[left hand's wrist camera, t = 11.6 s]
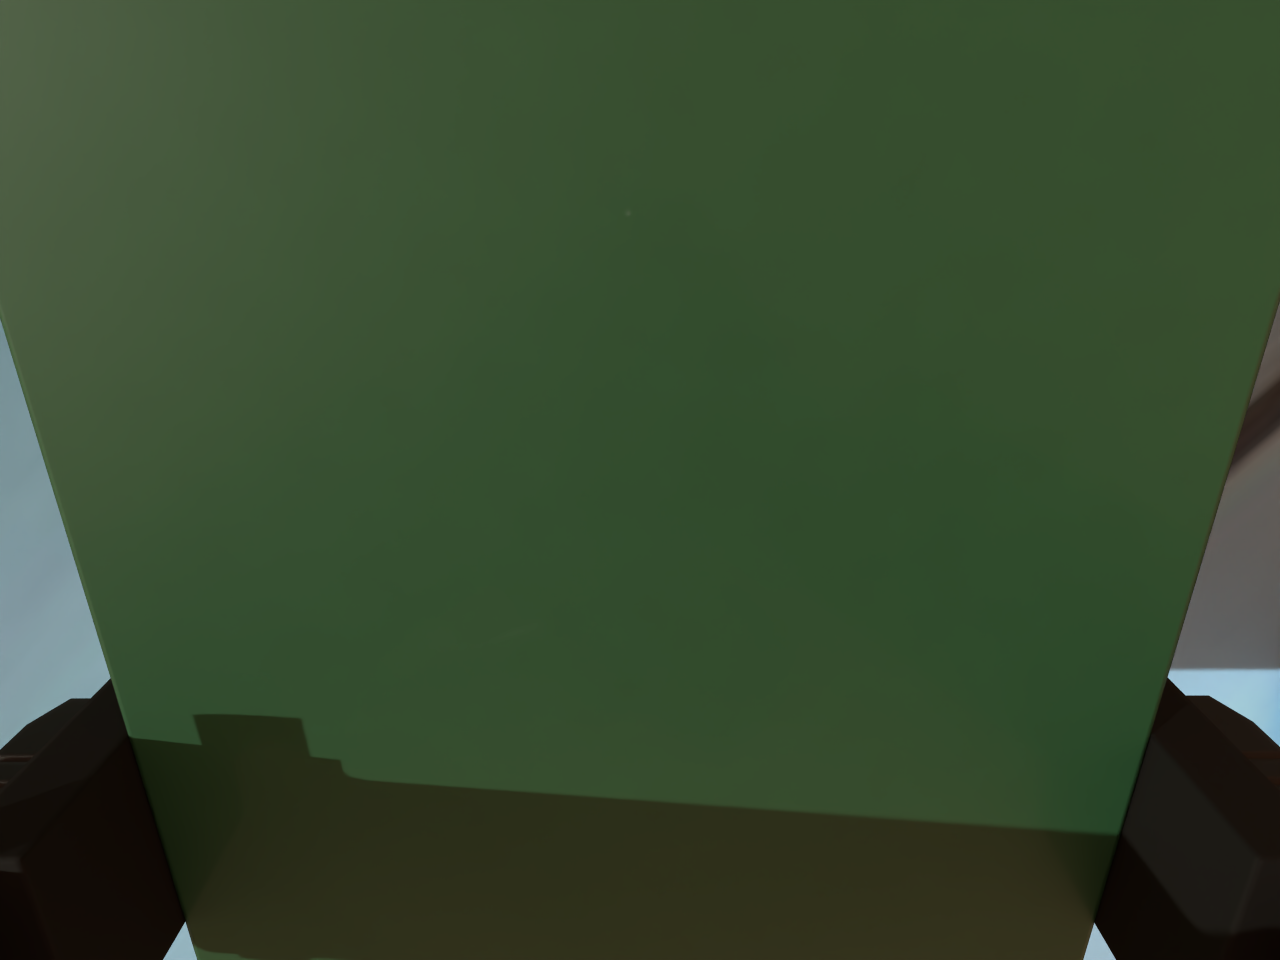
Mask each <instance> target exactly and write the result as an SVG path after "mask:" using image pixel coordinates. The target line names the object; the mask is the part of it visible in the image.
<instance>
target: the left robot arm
mask: <svg viewBox="0 0 1280 960" xmlns="http://www.w3.org/2000/svg"><path fill="white" fill-rule="evenodd" d="M184 923H185V918H184V915H183V911H182V908H181V905H180V902H179V898H178V895H177V892H176V889H175V885H174V882H173V879H172V876H171V872H170V869H169V866H168V863H167V859H166V856H165V853H164V850H163V846H162V843H161V840H160V837H159V833H158V830H157V827H156V824H155V820H154V817H153V814H152V810H151V807H150V804H149V801H148V797H147V794H146V791H145V788H144V784H143V781H142V778H141V775H140V771H139V768H138V765H137V762H136V758H135V755H134V752H133V749H132V745H131V742H130V739H129V736H128V732H127V729H126V726H125V723H124V719H123V716H122V713H121V710H120V706H119V703H118V700H117V697H116V693H115V690H114V687H113V684H112V680H111V679H110V680H109V681H108V682H107V683H106V684H105V685H104V686H103V687H102V688H101V689H100V690H99V691H98V692H97V693H96V694H95V695H94V696H93V697H92V698H91V699H69V700H68V701H66V702H64V703H63V704H61V705H59V706H58V707H56V708H54V709H53V710H51V711H49V712H48V713H46V714H44V715H43V716H41V717H39V718H37V719H36V720H34V721H32V722H31V723H29V724H27V725H26V726H25V727H24V728H23V729H22V730H21V731H20V732H19V733H18V734H17V735H15V736H14V737H13V738H12V739H11V740H10V741H9V742H8V743H7V744H6V745H5V746H4V747H3V748H2V749H1V750H0V960H163V959H164V957H165V955H166V954H167V952H168V950H169V948H170V947H171V945H172V943H173V942H174V940H175V938H176V937H177V935H178V933H179V931H180V930H181V928H182V926H183V925H184ZM1094 923H1095V924H1096V926H1097V928H1098V929H1099V931H1100V933H1101V935H1102V936H1103V938H1104V940H1105V941H1106V943H1107V945H1108V947H1109V948H1110V950H1111V952H1112V953H1113V955H1114V957H1115V959H1116V960H1280V747H1279V746H1278V745H1277V744H1276V743H1275V742H1274V741H1273V740H1272V739H1271V738H1270V737H1269V736H1268V735H1267V734H1265V733H1264V732H1263V731H1262V730H1261V729H1260V728H1259V727H1258V726H1257V725H1256V724H1255V723H1254V722H1252V721H1251V720H1249V719H1247V718H1246V717H1244V716H1242V715H1241V714H1239V713H1237V712H1236V711H1234V710H1232V709H1230V708H1229V707H1227V706H1225V705H1224V704H1222V703H1220V702H1219V701H1217V700H1215V699H1214V698H1212V697H1210V696H1185V695H1184V694H1183V693H1182V692H1181V691H1180V690H1179V689H1178V688H1177V687H1176V686H1175V685H1174V684H1173V683H1172V682H1171V681H1170V680H1169V679H1168V678H1167V680H1166V684H1165V687H1164V690H1163V694H1162V697H1161V700H1160V704H1159V707H1158V710H1157V714H1156V717H1155V720H1154V724H1153V727H1152V730H1151V734H1150V737H1149V741H1148V744H1147V747H1146V751H1145V754H1144V757H1143V761H1142V764H1141V767H1140V771H1139V774H1138V777H1137V781H1136V784H1135V787H1134V791H1133V794H1132V798H1131V801H1130V804H1129V808H1128V811H1127V814H1126V818H1125V821H1124V824H1123V828H1122V831H1121V834H1120V838H1119V841H1118V844H1117V848H1116V851H1115V855H1114V858H1113V861H1112V865H1111V868H1110V871H1109V875H1108V878H1107V881H1106V885H1105V888H1104V891H1103V895H1102V898H1101V901H1100V905H1099V908H1098V912H1097V915H1096V918H1095V922H1094Z"/></svg>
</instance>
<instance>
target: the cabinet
mask: <svg viewBox="0 0 1280 960" xmlns="http://www.w3.org/2000/svg"><path fill="white" fill-rule="evenodd" d="M1279 301H1280V0H0V319H1V322H2V325H3V329H4V332H5V335H6V338H7V342H8V345H9V348H10V351H11V355H12V358H13V361H14V364H15V368H16V371H17V374H18V377H19V381H20V384H21V387H22V391H23V394H24V397H25V400H26V404H27V407H28V410H29V413H30V417H31V420H32V423H33V426H34V430H35V433H36V436H37V439H38V443H39V446H40V449H41V452H42V456H43V459H44V462H45V465H46V469H47V472H48V475H49V478H50V482H51V485H52V488H53V491H54V495H55V498H56V501H57V504H58V508H59V511H60V514H61V517H62V521H63V524H64V527H65V531H66V534H67V537H68V540H69V544H70V547H71V550H72V553H73V557H74V560H75V563H76V566H77V570H78V573H79V576H80V579H81V583H82V586H83V589H84V592H85V596H86V599H87V602H88V605H89V609H90V612H91V615H92V618H93V622H94V625H95V628H96V631H97V635H98V638H99V641H100V644H101V648H102V651H103V654H104V657H105V661H106V664H107V667H108V670H109V674H110V677H111V680H112V684H113V687H114V690H115V693H116V697H117V700H118V703H119V706H120V710H121V713H122V716H123V719H124V723H125V726H126V729H127V732H128V736H129V739H130V742H131V745H132V749H133V752H134V755H135V758H136V762H137V765H138V768H139V771H140V775H141V778H142V781H143V784H144V788H145V791H146V794H147V797H148V801H149V804H150V807H151V810H152V814H153V817H154V820H155V824H156V827H157V830H158V833H159V837H160V840H161V843H162V846H163V850H164V853H165V856H166V859H167V863H168V866H169V869H170V872H171V876H172V879H173V882H174V885H175V889H176V892H177V895H178V898H179V902H180V905H181V908H182V911H183V915H184V918H185V921H186V924H187V928H188V931H189V934H190V937H191V941H192V944H193V947H194V950H195V954H196V957H197V960H1083V958H1084V955H1085V952H1086V948H1087V945H1088V942H1089V938H1090V935H1091V932H1092V928H1093V925H1094V922H1095V918H1096V915H1097V912H1098V908H1099V905H1100V901H1101V898H1102V895H1103V891H1104V888H1105V885H1106V881H1107V878H1108V875H1109V871H1110V868H1111V865H1112V861H1113V858H1114V855H1115V851H1116V848H1117V844H1118V841H1119V838H1120V834H1121V831H1122V828H1123V824H1124V821H1125V818H1126V814H1127V811H1128V808H1129V804H1130V801H1131V798H1132V794H1133V791H1134V787H1135V784H1136V781H1137V777H1138V774H1139V771H1140V767H1141V764H1142V761H1143V757H1144V754H1145V751H1146V747H1147V744H1148V741H1149V737H1150V734H1151V730H1152V727H1153V724H1154V720H1155V717H1156V714H1157V710H1158V707H1159V704H1160V700H1161V697H1162V694H1163V690H1164V687H1165V684H1166V680H1167V677H1168V673H1169V670H1170V667H1171V663H1172V660H1173V657H1174V653H1175V650H1176V647H1177V643H1178V640H1179V637H1180V633H1181V630H1182V627H1183V623H1184V620H1185V617H1186V613H1187V610H1188V606H1189V603H1190V600H1191V596H1192V593H1193V590H1194V586H1195V583H1196V580H1197V576H1198V573H1199V570H1200V566H1201V563H1202V560H1203V556H1204V553H1205V549H1206V546H1207V543H1208V539H1209V536H1210V533H1211V529H1212V526H1213V523H1214V519H1215V516H1216V513H1217V509H1218V506H1219V503H1220V499H1221V496H1222V492H1223V489H1224V486H1225V482H1226V479H1227V476H1228V472H1229V469H1230V466H1231V462H1232V459H1233V456H1234V452H1235V449H1236V446H1237V442H1238V439H1239V435H1240V432H1241V429H1242V425H1243V422H1244V419H1245V415H1246V412H1247V409H1248V405H1249V402H1250V399H1251V395H1252V392H1253V389H1254V385H1255V382H1256V378H1257V375H1258V372H1259V368H1260V365H1261V362H1262V358H1263V355H1264V352H1265V348H1266V345H1267V342H1268V338H1269V335H1270V332H1271V328H1272V325H1273V321H1274V318H1275V315H1276V311H1277V308H1278V305H1279Z"/></svg>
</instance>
